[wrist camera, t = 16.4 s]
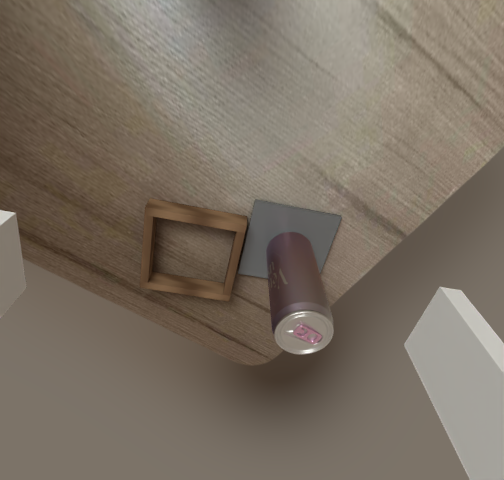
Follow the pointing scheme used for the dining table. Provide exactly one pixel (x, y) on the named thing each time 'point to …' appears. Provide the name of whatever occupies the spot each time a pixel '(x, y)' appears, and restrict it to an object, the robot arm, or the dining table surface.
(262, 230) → the slate coaster
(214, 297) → the walnut holder
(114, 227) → the dining table surface
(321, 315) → the beverage can
